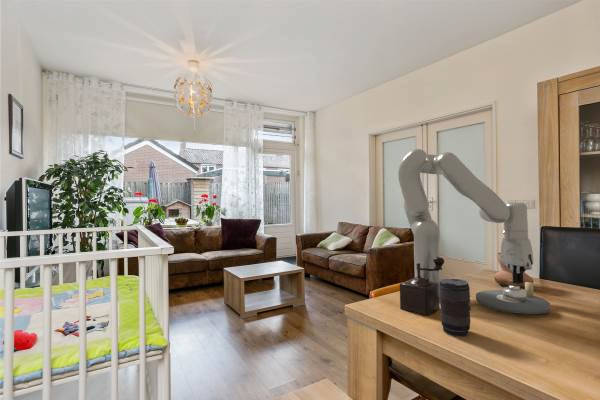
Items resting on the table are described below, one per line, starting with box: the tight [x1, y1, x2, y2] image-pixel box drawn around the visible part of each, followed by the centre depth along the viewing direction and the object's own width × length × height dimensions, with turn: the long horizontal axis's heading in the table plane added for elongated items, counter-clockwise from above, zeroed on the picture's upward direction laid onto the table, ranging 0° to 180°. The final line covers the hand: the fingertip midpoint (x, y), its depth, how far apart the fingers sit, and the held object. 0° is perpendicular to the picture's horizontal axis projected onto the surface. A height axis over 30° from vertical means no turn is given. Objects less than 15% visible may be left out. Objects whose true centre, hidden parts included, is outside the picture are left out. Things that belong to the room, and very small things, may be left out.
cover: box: [502, 285, 527, 303], centre depth 111 cm, size 7×7×5 cm
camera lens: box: [439, 278, 472, 338], centre depth 92 cm, size 8×8×15 cm
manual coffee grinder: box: [399, 256, 445, 317], centre depth 114 cm, size 16×11×18 cm
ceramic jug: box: [493, 251, 534, 289], centre depth 139 cm, size 18×14×14 cm
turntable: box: [475, 282, 551, 315], centre depth 112 cm, size 22×22×6 cm
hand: (518, 282), depth 119 cm, fingers closed
